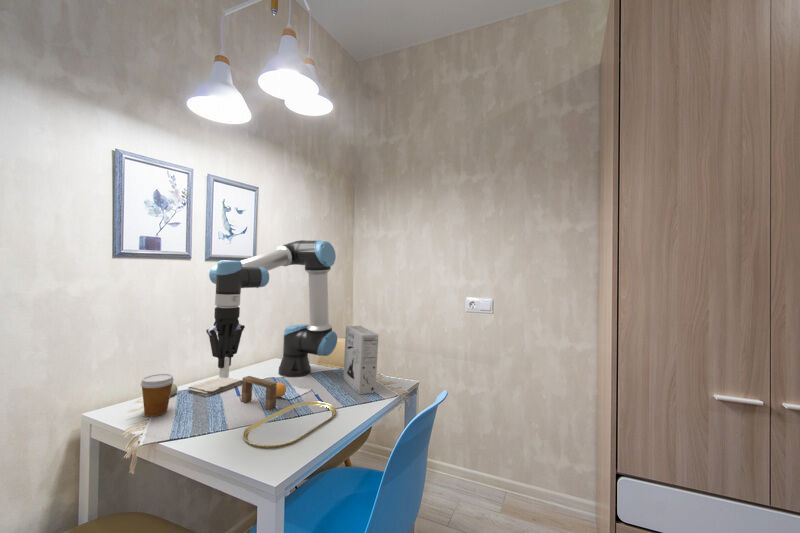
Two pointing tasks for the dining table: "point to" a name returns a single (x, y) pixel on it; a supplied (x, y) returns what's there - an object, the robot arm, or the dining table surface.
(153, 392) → the disposable coffee cup
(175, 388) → the sea urchin shell
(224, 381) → the washcloth
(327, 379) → the dining table surface
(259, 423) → the oval ring
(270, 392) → the bridge
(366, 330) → the cereal box
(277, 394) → the ball
